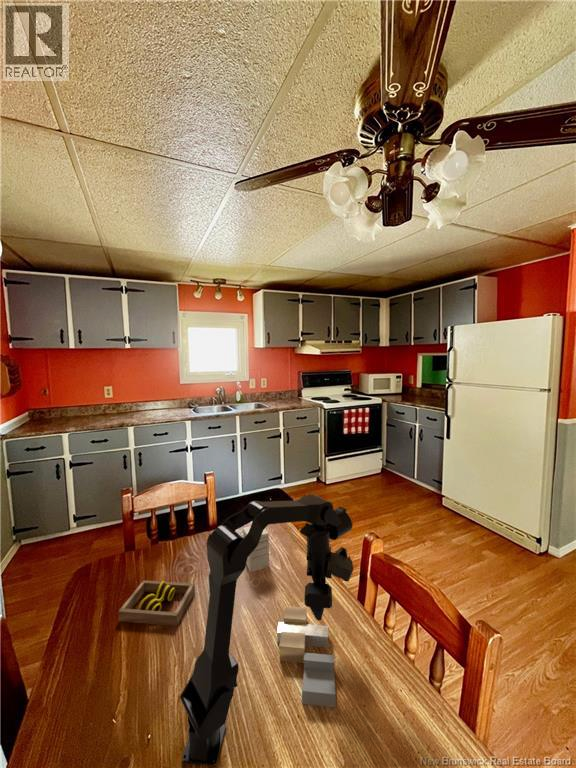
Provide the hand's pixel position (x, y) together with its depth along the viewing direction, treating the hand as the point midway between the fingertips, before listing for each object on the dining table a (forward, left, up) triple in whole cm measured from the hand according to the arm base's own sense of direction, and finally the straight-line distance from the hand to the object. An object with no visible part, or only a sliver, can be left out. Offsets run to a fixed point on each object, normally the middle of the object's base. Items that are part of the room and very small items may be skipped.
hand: (318, 604), depth 78 cm
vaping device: (+13, +32, -10) cm, 36 cm away
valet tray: (+7, +48, -10) cm, 49 cm away
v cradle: (-11, 0, -10) cm, 14 cm away
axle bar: (0, +4, -10) cm, 11 cm away
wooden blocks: (0, +7, -10) cm, 12 cm away
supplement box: (+28, +23, -10) cm, 37 cm away
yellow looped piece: (+7, +48, -10) cm, 49 cm away
